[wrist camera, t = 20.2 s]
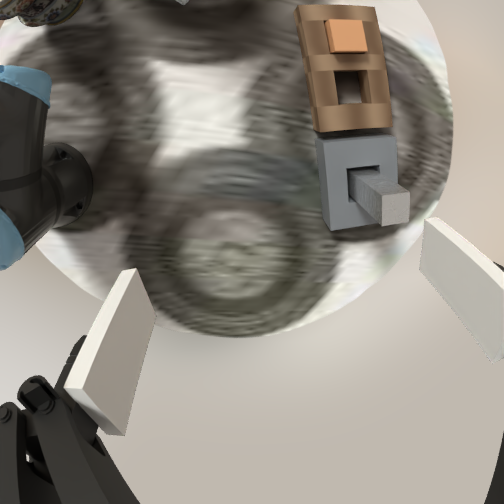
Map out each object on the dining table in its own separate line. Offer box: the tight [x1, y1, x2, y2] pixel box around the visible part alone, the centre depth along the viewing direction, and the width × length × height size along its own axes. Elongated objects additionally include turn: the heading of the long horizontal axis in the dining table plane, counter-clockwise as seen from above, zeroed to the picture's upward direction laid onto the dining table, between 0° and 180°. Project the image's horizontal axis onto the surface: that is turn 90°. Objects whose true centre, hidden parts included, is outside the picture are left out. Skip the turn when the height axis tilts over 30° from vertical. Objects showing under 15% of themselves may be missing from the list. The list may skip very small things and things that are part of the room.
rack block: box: [315, 133, 398, 231], centre depth 46 cm, size 12×14×5 cm
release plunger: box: [324, 19, 368, 54], centre depth 34 cm, size 5×5×5 cm
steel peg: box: [346, 166, 410, 226], centre depth 41 cm, size 4×4×16 cm
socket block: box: [293, 5, 393, 132], centre depth 38 cm, size 12×20×4 cm, turn 10°
